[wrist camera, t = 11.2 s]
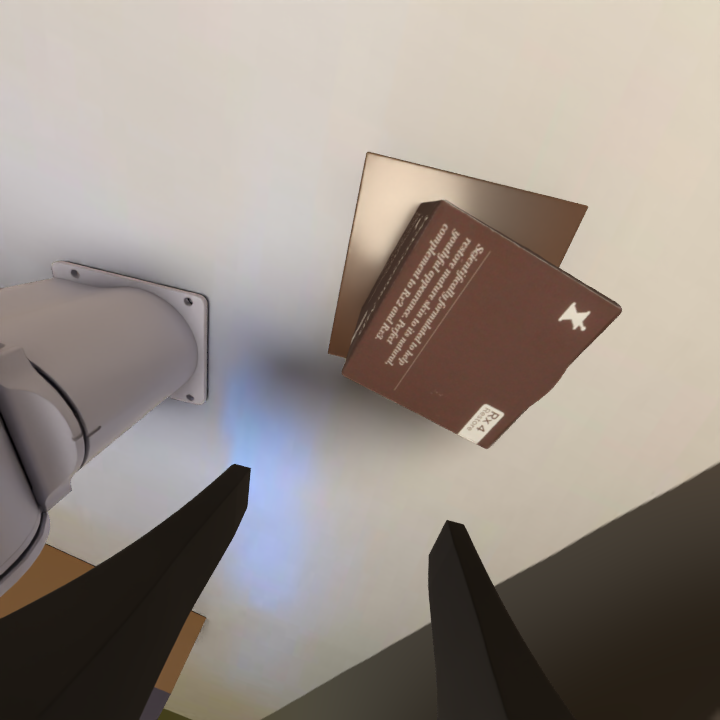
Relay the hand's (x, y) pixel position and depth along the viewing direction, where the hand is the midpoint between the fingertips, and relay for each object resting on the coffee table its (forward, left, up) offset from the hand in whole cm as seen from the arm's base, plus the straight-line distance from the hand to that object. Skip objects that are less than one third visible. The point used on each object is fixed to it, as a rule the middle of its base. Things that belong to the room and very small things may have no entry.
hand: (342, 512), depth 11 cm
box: (+2, +7, -9) cm, 11 cm away
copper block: (+2, +7, -10) cm, 13 cm away
